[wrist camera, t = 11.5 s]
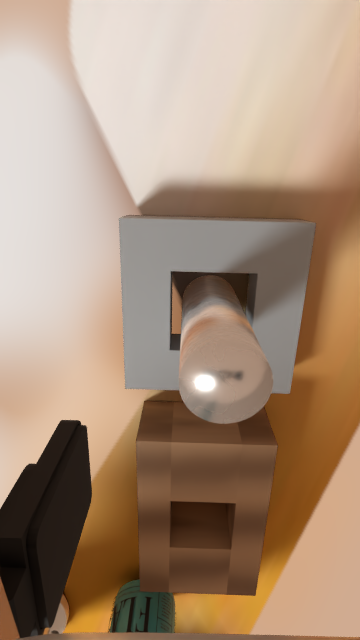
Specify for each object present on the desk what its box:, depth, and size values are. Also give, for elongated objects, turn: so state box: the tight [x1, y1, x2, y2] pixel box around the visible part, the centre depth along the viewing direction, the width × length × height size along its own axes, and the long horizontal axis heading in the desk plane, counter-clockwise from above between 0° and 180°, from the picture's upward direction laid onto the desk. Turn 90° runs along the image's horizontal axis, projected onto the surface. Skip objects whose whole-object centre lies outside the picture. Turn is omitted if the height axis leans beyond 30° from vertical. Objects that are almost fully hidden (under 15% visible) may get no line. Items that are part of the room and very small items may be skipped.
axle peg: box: [179, 275, 273, 424], centre depth 20 cm, size 4×4×12 cm
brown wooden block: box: [136, 401, 278, 596], centre depth 29 cm, size 16×10×5 cm, turn 179°
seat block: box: [119, 215, 316, 394], centre depth 24 cm, size 12×12×3 cm
